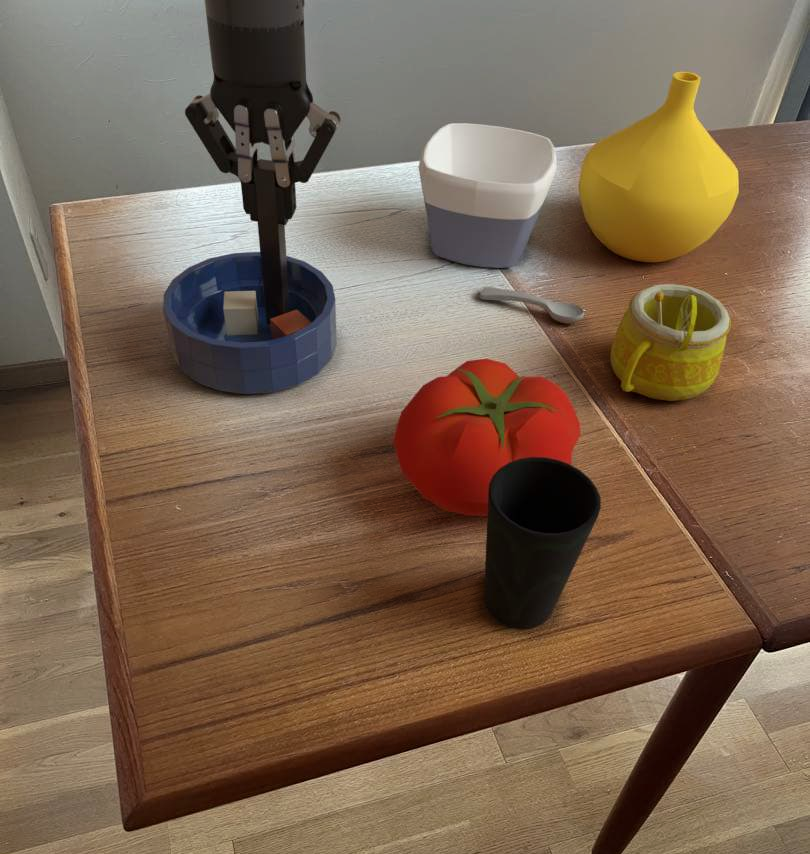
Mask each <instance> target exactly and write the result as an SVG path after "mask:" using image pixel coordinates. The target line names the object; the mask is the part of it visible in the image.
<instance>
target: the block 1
mask: <svg viewBox="0 0 810 854" xmlns="http://www.w3.org/2000/svg"><path fill="white" fill-rule="evenodd" d="M223 311H224V318H225V325H226V332H227V335H258V310H257V301H256V292H255V291H227V292H224V305H223Z"/></svg>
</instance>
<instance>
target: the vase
mask: <svg viewBox="0 0 810 854" xmlns="http://www.w3.org/2000/svg"><path fill="white" fill-rule="evenodd" d="M701 79H702V77H701V76H700V75H699V74H697V73H694V72H690V71H676V72H674V73H673V75H672V78H671V82H670V86H669V90H668V94H667V96H666V99H665V101H664V103H663V105H661V106H660V107H659V108H658V109H657V110H655V111H654V112H653V113H650V114H649V115H647V116H645V117H643V118H642V119H640V120H637V121H636V122H634V123H633V124H631V125H629V126H627V127H625V128H622V129H621V130H619V131H616V132H615V133H612V134H610V135H608V136H606V137H605V138H602V139H600V140H598V141H596V142H595V143H594V144H593V146H591V147H590V148H589V150H588V152H587V154H586V155H585V157H584V158H583V160H582V165H581V169H580V174H579V180H578V186H577V187H578V192H579V197H580V202H581V208H582V212H583V216H584V218H585V221H586V222H587V224H588V226H589V228H590V230H591V231H592V233H593V234H594V236H595V237H596V239H597V240H599V242H600V243H601V244H602V245H603V246H605V247H606V248H607V249H608V250H610V251H611V252H612V253H613V254H616V255H618V256H621V257H623V258H625V259H628V260H631V261H637V262H642V263H662V262H668V261H670V260H673V259H676V258H679V257H682V256H685V255H688V254H689V253H690V252H692V251H693V250H695V249H696V248H698V247H699V246H701V245H702V244H704V243H706V242H707V241H709V240H710V238H711V237H713V235H714V234H715V233H716V232H717V230H718V229H719V228H720V227H721V226H722V225H723V224H724V223H725V221H726V220H727V219H728V218H729V215H730V214H731V212H732V211H733V209H734V206H735V204H736V201H737V198H738V195H739V192H740V191H739V187H740V185H739V184H740V183H739V170H738V168H737V167H736V165H735V163H734V162H733V161H732V159H731V158H730V157H729V156H728V155H727V153H726V152H725V151H724V150H723V149H722V148H721V147H720V145H719V144H718V143H717V142H716V141H715V139H714V138H713V137H712V136H711V135H710V134H709V132H708V131H707V130H706V128H705V126H703V124H702V123H701V122H700V121H699V119H698V117H697V114H696V112H695V110H694V109H695V107H694V106H695V101H696V98H697V94H698V90H699V88H700V87H699V86H700V84H701Z"/></svg>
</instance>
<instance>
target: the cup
mask: <svg viewBox="0 0 810 854" xmlns="http://www.w3.org/2000/svg"><path fill="white" fill-rule="evenodd" d="M601 503H602V502H601V495H600V493H599V490H598V488H597V486H596V485H595V483H594V482H593V481H592V479H591V478H590V477H589V476H587V475H586V474H585V473H584V472H582V471H581V470H580V469H578V468H577V467H575V466H573V465H572V464H571V465H570V464H568V463H565V462H562V461H559V460H556V459H551V458H546V457H529V458H522V459H518V460H515V461H512V462H510V463H508V464H506V465H504V466H503V467H501V468H500V469H499V470H498V471H497V472H496V473H495V474H494V475H493V477H492V479H491V481H490V484H489V492H488V514H487V515H486V517H487V519H486V537H485V538H486V541H485V542H486V543H485V561H484V562H485V565H484V585H483V586H484V587H483V602H484V606H485V609H486V610H487V612H488V613H489V615H490V616H491V617H492V618H493V619H494V620H495V621H497V622H498V623H499V624H501V625H503V626H505V627H508V628H510V629H516V630H531V629H534V628H535V629H536V628H537V627H540V626H542V625H544V623H546V622H547V621H548V620H549V619H550V617H551V616H552V615H553V612H554V610H555V608H556V606H557V604H558V602H559V599H560V597H561V595H562V594H563V591H564V589H565V587H566V585H567V583H568V581H569V579H570V576H571V574H572V572H573V571H574V568H575V566H576V564H577V562H578V560H579V558H580V555H581V553H582V551H583V549H584V548H585V545H586V543H587V541H588V539H589V537H590V535H591V532H592V530H593V528H594V526H595V524H596V522H597V520H598V518H599V515H600V512H601V508H602V506H601Z"/></svg>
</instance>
